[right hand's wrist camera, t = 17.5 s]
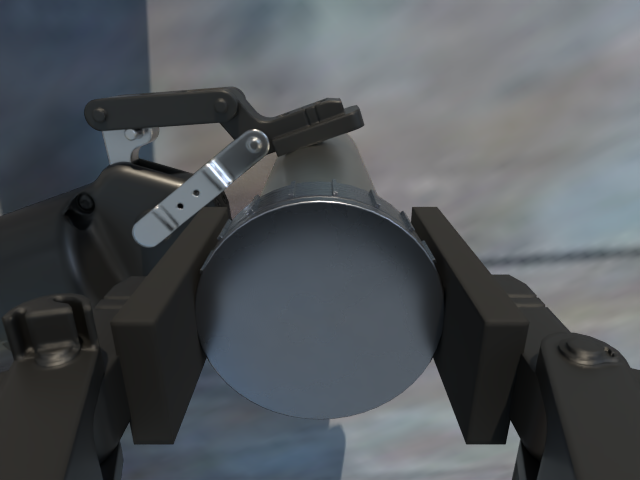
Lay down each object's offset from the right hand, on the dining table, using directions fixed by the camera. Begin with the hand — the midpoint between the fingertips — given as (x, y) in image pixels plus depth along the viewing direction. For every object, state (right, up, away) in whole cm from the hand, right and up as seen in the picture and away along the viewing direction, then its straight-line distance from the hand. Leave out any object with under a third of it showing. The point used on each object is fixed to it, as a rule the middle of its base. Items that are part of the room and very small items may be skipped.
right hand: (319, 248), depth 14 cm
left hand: (+2, +3, +5) cm, 7 cm away
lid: (0, -1, -4) cm, 4 cm away
